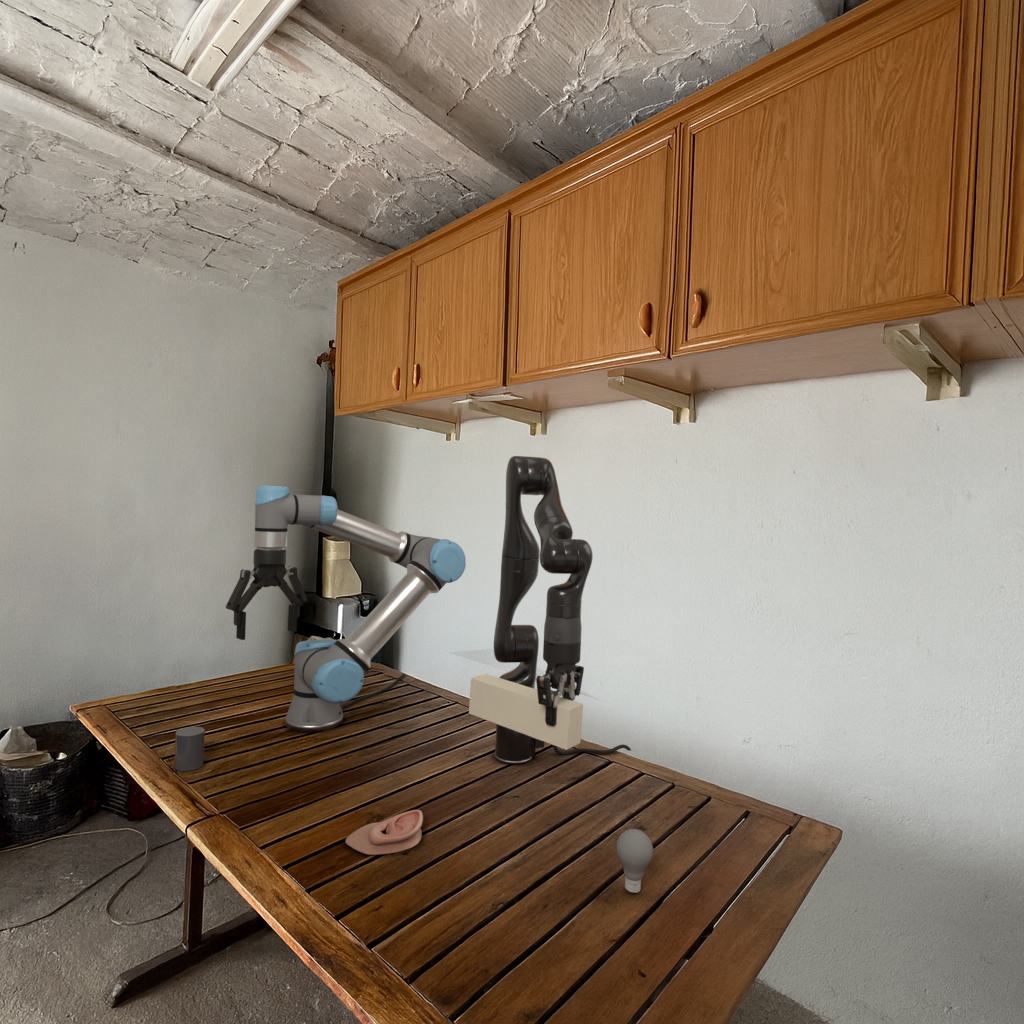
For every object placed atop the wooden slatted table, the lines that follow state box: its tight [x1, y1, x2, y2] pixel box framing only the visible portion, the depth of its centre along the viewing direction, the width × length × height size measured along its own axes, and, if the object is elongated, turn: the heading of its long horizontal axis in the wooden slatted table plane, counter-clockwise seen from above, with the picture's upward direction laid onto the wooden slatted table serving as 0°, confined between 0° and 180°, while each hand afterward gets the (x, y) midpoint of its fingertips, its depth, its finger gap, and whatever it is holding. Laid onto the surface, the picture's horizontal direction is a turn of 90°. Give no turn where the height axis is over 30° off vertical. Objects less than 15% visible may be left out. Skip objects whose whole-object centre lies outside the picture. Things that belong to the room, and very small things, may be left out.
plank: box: [468, 673, 584, 751], centre depth 133 cm, size 26×5×8 cm, turn 51°
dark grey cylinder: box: [173, 726, 206, 772], centre depth 146 cm, size 6×6×8 cm
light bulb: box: [615, 828, 654, 894], centre depth 106 cm, size 6×6×10 cm
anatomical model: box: [344, 809, 424, 856], centre depth 118 cm, size 13×4×12 cm
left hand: (267, 635), depth 155 cm, fingers open, 13 cm apart
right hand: (558, 721), depth 128 cm, fingers closed on plank, 5 cm apart
